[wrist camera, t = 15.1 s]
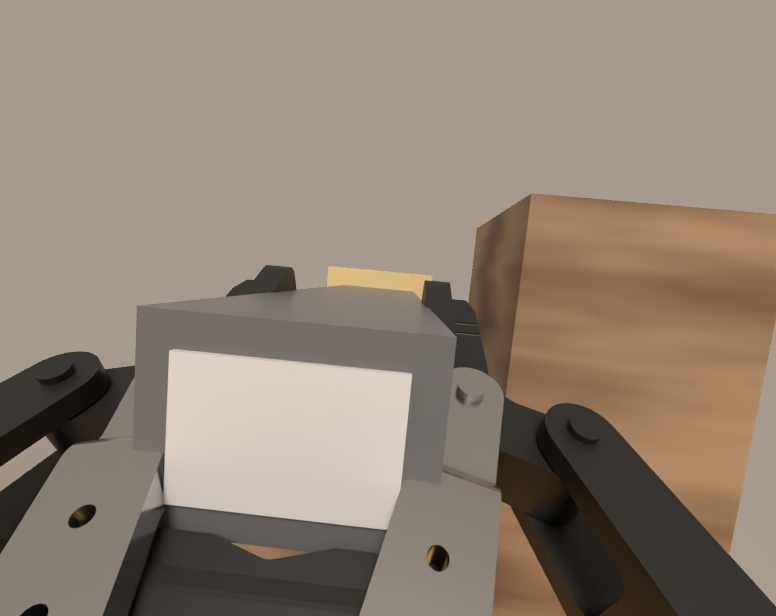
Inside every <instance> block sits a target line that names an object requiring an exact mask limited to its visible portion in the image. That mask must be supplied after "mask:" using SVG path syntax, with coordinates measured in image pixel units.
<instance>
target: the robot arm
mask: <svg viewBox="0 0 776 616" xmlns="http://www.w3.org/2000/svg"><path fill="white" fill-rule="evenodd" d="M294 290H296V282H295V274H294V270H293V268H291V267H281V266H271V265H266V266H265V267H264V268H263V269H262V270H261V272H260V273H259V274H258V275H257V277H256V278H255V279H254V280H246V281H244V282H242V283H241V284H239V285H237V286H235V287H234V288H232V290H231V291H230V292H229V293H228V294H227V295H226V297H230V296H240V295H249V294H259V293H269V292H270V293H275V292H284V291H294ZM421 303H422V304H423V305H424V306H425V307H426V308H430V310H431V311H432V312H433V313H434V314H435V315H436V316H437V317H438V318H439V319H440V320H441V321H442V322H443V323H444V324H445V325H446V326H447V327H448V328H449V330H450V331H451V332H452V333H453V334H454V335H455V336H456V337H457V342H456V351H455V360H454V368H453V377H452V386H451V395H450V404H449V413H448V422H447V431H446V440H445V449H444V458H443V467H442V476H441V483H434V482H426V481H417V480H408V479H404V480H403V483H402V486H401V489H400V492H399V495H398V498H397V502H396V505H395V508H394V511H393V514H392V517H391V520H390V523H389V526H388V529H387V532H386V535H385V538H384V541H383V544H382V547H381V551H380V553H371V552H363V551H354V550H346V549H337V548H334V549H328V550H322V551H317V552H311V553H306V554H300V555H294V556H289V557H283V558H277V559H264V558H261V557H259V556H257V555H255V554H253V553H251V552H249V551H246V550H244V549H242V548H240V547H238V546H236V545H234V544H232V543H230V542H228V541H226V540H224V539H222V538H220V537H217V536H215V535H213V534H210V533H202V532H194V531H185V530H177V529H168V528H160V527H157V525H158V523H159V520H160V518H161V516H162V514H163V512H164V511H165V509H166V508H167V507H168V505H167V504H164V497H163V491H164V467H165V466H164V455H163V452H157V451H148V450H138V449H132V448H133V417H134V386H135V366H129V367H121V368H113V369H104V367H103V365H102V364H101V362H100V360H99V358H98V357H97V356H96V355H94V354H92V353H89V352H70V353H64V354H60V355H56V356H54V357H51V358H48V359H46V360H43V361H41V362H39V363H37V364H35V365H33V366H31V367H29V368H27V369H26V370H24V371H22V372H20V373H18V374H16V375H15V376H13V377H11V378H9V379H7V380H5V381H3V382H2V383H0V466H2V465H3V464H5V463H6V462H8V461H9V460H11V459H12V458H14V457H15V456H17V455H18V454H19V453H21V452H22V451H24V450H25V449H27V448H28V447H30V446H31V445H32V444H34V443H36V442H37V441H38V440H40V439H41V438H43V437H44V436H46V437H47V438H48V439H49V441H50V442H51V443H52V444H53V446H54V447H55V448H56V449H57V451H55V452H54V453H53V454H51V455H50V456H49V457H47V458H46V459H44V460H43V461H42V462H40V463H39V464H38V465H36V466H35V467H33V468H32V469H31V470H29V471H28V472H27V473H25V474H24V475H22V476H21V477H20V478H19V479H17V480H16V481H14V482H13V483H11V484H10V485H9V486H7V487H6V488H5V489H3V490H2V491H1V492H0V616H492V611H493V599H494V586H495V574H496V562H497V550H498V537H499V525H500V513H501V502H504V503H506V504H508V505H510V506H511V508H512V511H513V513H514V515H515V517H516V518H517V520H518V522H519V524H520V526H521V528H522V530H523V532H524V534H525V536H526V538H527V540H528V542H529V544H530V546H531V548H532V550H533V551H534V553H535V555H536V557H537V559H538V561H539V563H540V565H541V567H542V569H543V571H544V573H545V575H546V577H547V579H548V581H549V583H550V584H551V586H552V588H553V590H554V592H555V594H556V596H557V598H558V600H559V602H560V604H561V606H562V608H563V610H564V612H565V614H566V616H776V606H775V605H774V604H773V603H772V602H771V601H770V600H769V599H768V597H767V596H766V595H765V594H764V593H763V592H762V591H761V590H760V589H759V588H758V586H757V585H756V584H755V583H754V582H753V581H752V580H751V579H750V577H749V576H748V575H747V574H746V573H745V572H744V571H743V570H742V569H741V568H740V566H739V565H738V564H737V563H736V562H735V561H734V560H733V559H732V558H731V556H730V555H729V554H728V553H727V552H726V551H725V550H724V549H723V548H722V546H721V545H720V544H719V543H718V542H717V541H716V540H715V539H714V538H713V536H712V535H711V534H710V533H709V532H708V531H707V530H706V529H705V528H704V526H703V525H702V524H701V523H700V522H699V521H698V520H697V519H696V518H695V516H694V515H693V514H692V513H691V512H690V511H689V510H688V509H687V508H686V507H685V505H684V504H683V503H682V502H681V501H680V500H679V499H678V498H677V497H676V495H675V494H674V493H673V492H672V491H671V490H670V489H669V488H668V487H667V485H666V484H665V483H664V482H663V481H662V480H661V479H660V478H659V477H658V475H657V474H656V473H655V472H654V471H653V470H652V469H651V468H650V467H649V465H648V464H647V463H646V462H645V461H644V460H643V459H642V458H641V457H640V456H639V454H638V453H637V452H636V451H635V450H634V449H633V448H632V447H631V446H630V444H629V443H628V442H627V441H626V440H625V439H624V438H623V437H622V436H621V434H620V433H619V432H618V431H617V430H616V429H615V428H614V427H613V426H612V425H611V424H610V423H609V422H608V421H607V420H606V419H605V418H604V417H602V416H601V415H599V414H598V413H596V412H595V411H593V410H591V409H589V408H586V407H584V406H581V405H578V404H572V403H560V404H557V405H554V406H552V407H551V408H550V409H549V410H548V411H547V413H546V414H544V413H542V412H539V411H536V410H533V409H531V408H528V407H525V406H522V405H520V404H518V403H515V402H513V401H512V400H510V399H508V398H507V397H505V396H504V395H503V392H502V389H501V387H500V386H499V385H498V383H497V382H496V381H495V380H494V379H493V378H492V377H490V376H489V373H488V369H487V364H486V359H485V355H484V350H483V345H482V341H481V336H480V331H479V327H478V322H477V317H476V313H475V311H474V310H473V308H472V307H471V306H470V305H469V304H468V303H467V301H464V300H453V299H452V296H451V288H450V283H449V282H439V281H429V280H425V281H424V286H423V294H422V301H421ZM428 564H432V565H431V566H429V565H428Z"/></svg>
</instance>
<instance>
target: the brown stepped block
mask: <svg viewBox="0 0 776 616" xmlns="http://www.w3.org/2000/svg"><path fill="white" fill-rule="evenodd" d="M468 304H469V305H470V306H471V307H472V308H473V310H474V311H475V313H476V317H477V322H478V327H479V331H480V336H481V341H482V345H483V350H484V355H485V359H486V364H487V369H488V373H489V376H490V377H492V378H493V379H494V380H495V381H496V382H497V383H498V385H499V386H500V387H501V389H502V392H503V395H504V396H505V397H507V398H508V399H510V400H512V401H513V402H515V403H518V404H520V405H522V406H525V407H528V408H531V409H533V410H536V411H539V412H542V413H544V414H546V413H547V411H548V410H549V409H550V408H551V407H552V406H554V405H557V404H560V403H572V404H578V405H581V406H584V407H586V408H589V409H591V410H593V411H595V412H596V413H598V414H599V415H601V416H602V417H604V418H605V419H606V420H607V421H608V422H609V423H610V424H611V425H612V426H613V427H614V428H615V429H616V430H617V431H618V432H619V433H620V434H621V436H622V437H623V438H624V439H625V440H626V441H627V442H628V443H629V444H630V446H631V447H632V448H633V449H634V450H635V451H636V452H637V453H638V454H639V456H640V457H641V458H642V459H643V460H644V461H645V462H646V463H647V464H648V465H649V467H650V468H651V469H652V470H653V471H654V472H655V473H656V474H657V475H658V477H659V478H660V479H661V480H662V481H663V482H664V483H665V484H666V485H667V487H668V488H669V489H670V490H671V491H672V492H673V493H674V494H675V495H676V497H677V498H678V499H679V500H680V501H681V502H682V503H683V504H684V505H685V507H686V508H687V509H688V510H689V511H690V512H691V513H692V514H693V515H694V516H695V518H696V519H697V520H698V521H699V522H700V523H701V524H702V525H703V526H704V528H705V529H706V530H707V531H708V532H709V533H710V534H711V535H712V536H713V538H714V539H715V540H716V541H717V542H718V543H719V544H720V545H721V546H722V548H723V549H724V550H725V551H726V552H727V553H728V554H729V552H730V547H731V542H732V537H733V532H734V527H735V521H736V517H737V512H738V507H739V501H740V496H741V491H742V486H743V481H744V476H745V471H746V466H747V461H748V456H749V451H750V446H751V441H752V436H753V431H754V426H755V420H756V415H757V410H758V405H759V400H760V395H761V390H762V385H763V380H764V375H765V369H766V365H767V360H768V355H769V350H770V345H771V340H772V334H773V329H774V324H775V319H776V214H765V213H753V212H742V211H730V210H717V209H706V208H694V207H683V206H671V205H659V204H648V203H636V202H624V201H612V200H600V199H589V198H577V197H564V196H553V195H542V194H530V195H529V196H527V197H525V198H524V199H522V200H521V201H519V202H518V203H516V204H515V205H513V206H511V207H510V208H508V209H507V210H505V211H504V212H502V213H501V214H499V215H497V216H496V217H494V218H493V219H491V220H490V221H488V222H486V223H485V224H483V225H482V226H480V227H479V228H477V234H476V242H475V251H474V260H473V269H472V277H471V286H470V294H469V303H468ZM234 545H236V546H238V547H240V548H242V549H244V550H246V551H249V552H251V553H253V554H255V555H257V556H259V557H261V558H264V559H277V558H283V557H289V556H294V555H300V554H306V553H311V552H306V551H297V550H289V549H280V548H272V547H263V546H255V545H247V544H238V543H234ZM492 616H566V614H565V612H564V610H563V608H562V606H561V604H560V602H559V600H558V598H557V596H556V594H555V592H554V590H553V588H552V586H551V584H550V583H549V581H548V579H547V577H546V575H545V573H544V571H543V569H542V567H541V565H540V563H539V561H538V559H537V557H536V555H535V553H534V551H533V550H532V548H531V546H530V544H529V542H528V540H527V538H526V536H525V534H524V532H523V530H522V528H521V526H520V524H519V522H518V520H517V518H516V517H515V515H514V513H513V511H512V508H511V506H510V505H508V504H506V503H504V502H501V513H500V525H499V537H498V550H497V562H496V574H495V586H494V599H493V611H492Z"/></svg>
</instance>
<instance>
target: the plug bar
mask: <svg viewBox="0 0 776 616" xmlns="http://www.w3.org/2000/svg"><path fill="white" fill-rule="evenodd" d="M425 280H429V281H432V276H430V275H420V274H408V273H397V272H387V271H377V270H366V269H355V268H344V267H334V266H329V269H328V282H327V287H319V288H309V289H299V290H294V291H284V292H275V293H270V292H269V293H259V294H249V295H240V296H230V297H220V298H210V299H201V300H191V301H181V302H171V303H161V304H150V305H142V306H137V325H136V327H137V328H136V357H135V386H134V417H133V448H132V449H138V450H148V451H157V452H163V455H164V466H165V467H164V491H163V497H164V504H167V505H168V507H167V508H166V509H165V511H164V512H163V514H162V516H161V518H160V520H159V523H158V525H157V527H160V528H168V529H177V530H185V531H194V532H202V533H210V534H213V535H215V536H217V537H220V538H222V539H224V540H226V541H228V542H230V543H238V544H247V545H255V546H263V547H272V548H280V549H289V550H297V551H306V552H317V551H322V550H328V549H334V548H337V549H346V550H354V551H363V552H371V553H380V551H381V547H382V544H383V541H384V538H385V535H386V532H387V529H388V526H389V523H390V520H391V517H392V514H393V511H394V508H395V505H396V502H397V498H398V495H399V492H400V489H401V486H402V483H403V480H404V479H408V480H417V481H426V482H434V483H441V476H442V467H443V458H444V449H445V440H446V431H447V422H448V413H449V404H450V395H451V386H452V377H453V368H454V360H455V351H456V342H457V337H456V336H455V335H454V334H453V333H452V332H451V331H450V330H449V328H448V327H447V326H446V325H445V324H444V323H443V322H442V321H441V320H440V319H439V318H438V317H437V316H436V315H435V314H434V313H433V312H432V311H431V310H430V308H426V307H425V306H424V305H423V304H422V303H421V301H422V294H423V286H424V281H425ZM428 565H429V566H431V565H432V564H428Z"/></svg>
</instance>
